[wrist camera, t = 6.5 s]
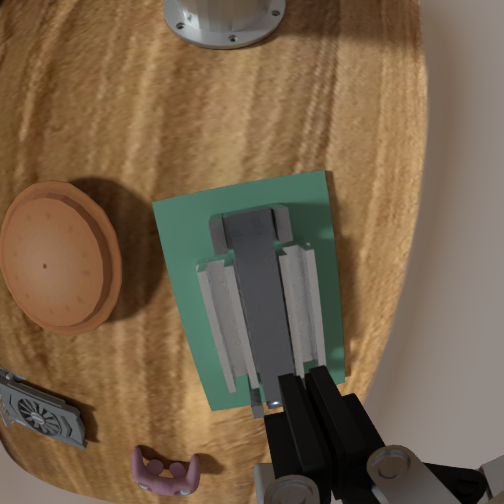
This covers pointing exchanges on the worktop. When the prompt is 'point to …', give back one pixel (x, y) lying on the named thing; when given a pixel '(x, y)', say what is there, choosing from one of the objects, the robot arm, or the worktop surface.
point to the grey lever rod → (262, 296)
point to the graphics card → (39, 411)
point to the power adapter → (263, 479)
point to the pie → (61, 258)
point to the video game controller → (163, 485)
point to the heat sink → (233, 307)
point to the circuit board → (200, 246)
